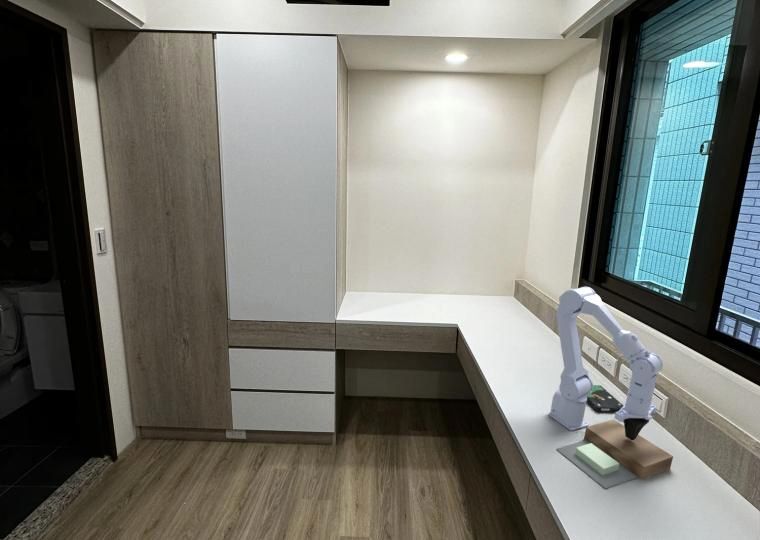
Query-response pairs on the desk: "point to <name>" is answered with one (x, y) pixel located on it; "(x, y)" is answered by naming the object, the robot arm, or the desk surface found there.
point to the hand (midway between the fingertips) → (630, 438)
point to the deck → (628, 449)
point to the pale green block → (597, 459)
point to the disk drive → (602, 401)
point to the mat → (603, 480)
